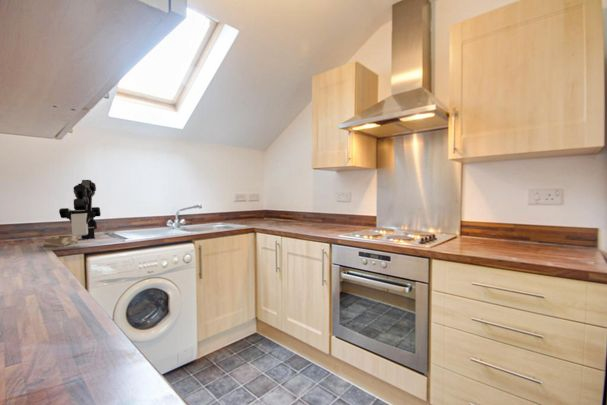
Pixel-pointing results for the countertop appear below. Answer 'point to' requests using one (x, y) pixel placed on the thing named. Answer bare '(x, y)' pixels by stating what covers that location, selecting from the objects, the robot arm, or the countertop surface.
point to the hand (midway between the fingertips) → (79, 223)
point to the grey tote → (79, 224)
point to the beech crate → (59, 241)
